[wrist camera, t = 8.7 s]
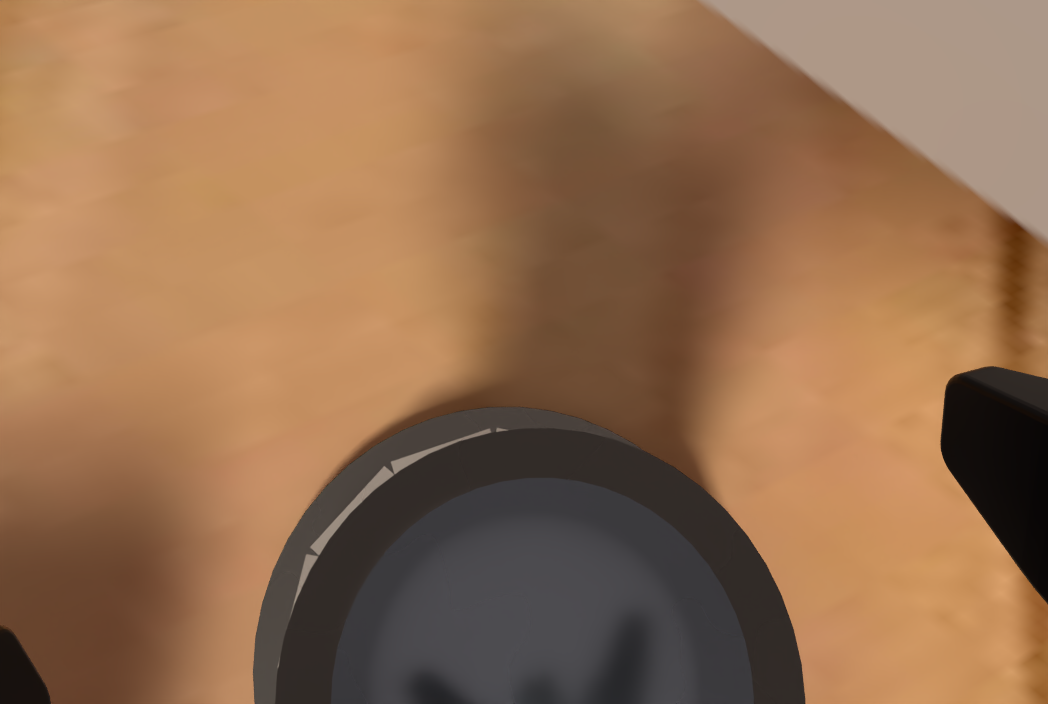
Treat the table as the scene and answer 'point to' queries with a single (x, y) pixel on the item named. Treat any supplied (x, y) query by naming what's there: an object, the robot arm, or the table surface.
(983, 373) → the robot arm
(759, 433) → the table surface
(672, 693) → the lens
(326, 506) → the mount ring
